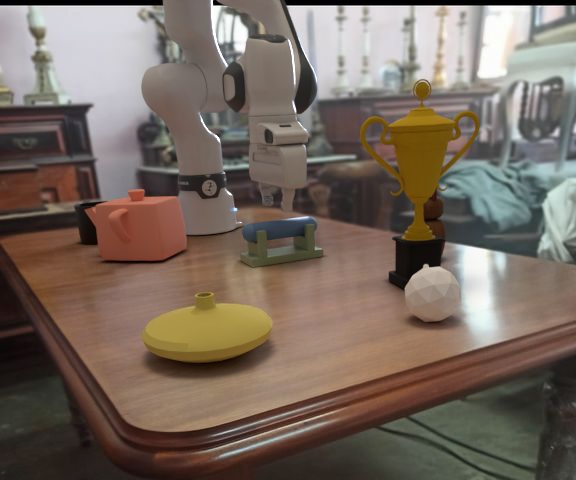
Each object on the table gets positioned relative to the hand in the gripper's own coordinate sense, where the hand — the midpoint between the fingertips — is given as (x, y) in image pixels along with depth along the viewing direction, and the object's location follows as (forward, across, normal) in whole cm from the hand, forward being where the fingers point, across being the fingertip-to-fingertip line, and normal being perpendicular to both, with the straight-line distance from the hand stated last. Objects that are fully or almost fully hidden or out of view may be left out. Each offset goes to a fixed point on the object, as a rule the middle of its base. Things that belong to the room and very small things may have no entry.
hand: (277, 208), depth 113 cm
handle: (+6, 0, 0) cm, 6 cm away
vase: (+9, +42, -27) cm, 50 cm away
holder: (+10, +1, 0) cm, 10 cm away
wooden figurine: (+10, +18, +22) cm, 31 cm away
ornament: (+9, +46, +2) cm, 47 cm away
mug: (+11, -46, -28) cm, 55 cm away
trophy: (+9, +30, +11) cm, 34 cm away
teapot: (+10, -21, -25) cm, 34 cm away
